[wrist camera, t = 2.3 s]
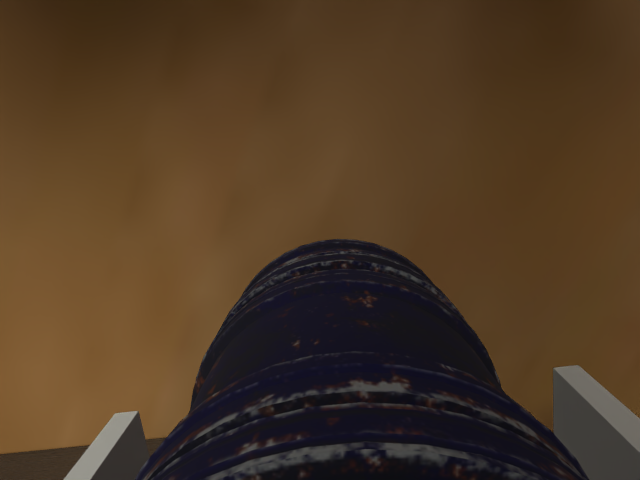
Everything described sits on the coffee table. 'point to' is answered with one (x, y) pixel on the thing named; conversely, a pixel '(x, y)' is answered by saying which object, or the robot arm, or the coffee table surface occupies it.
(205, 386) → the storage jar
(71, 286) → the coffee table surface
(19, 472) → the cradle tray
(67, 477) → the robot arm
